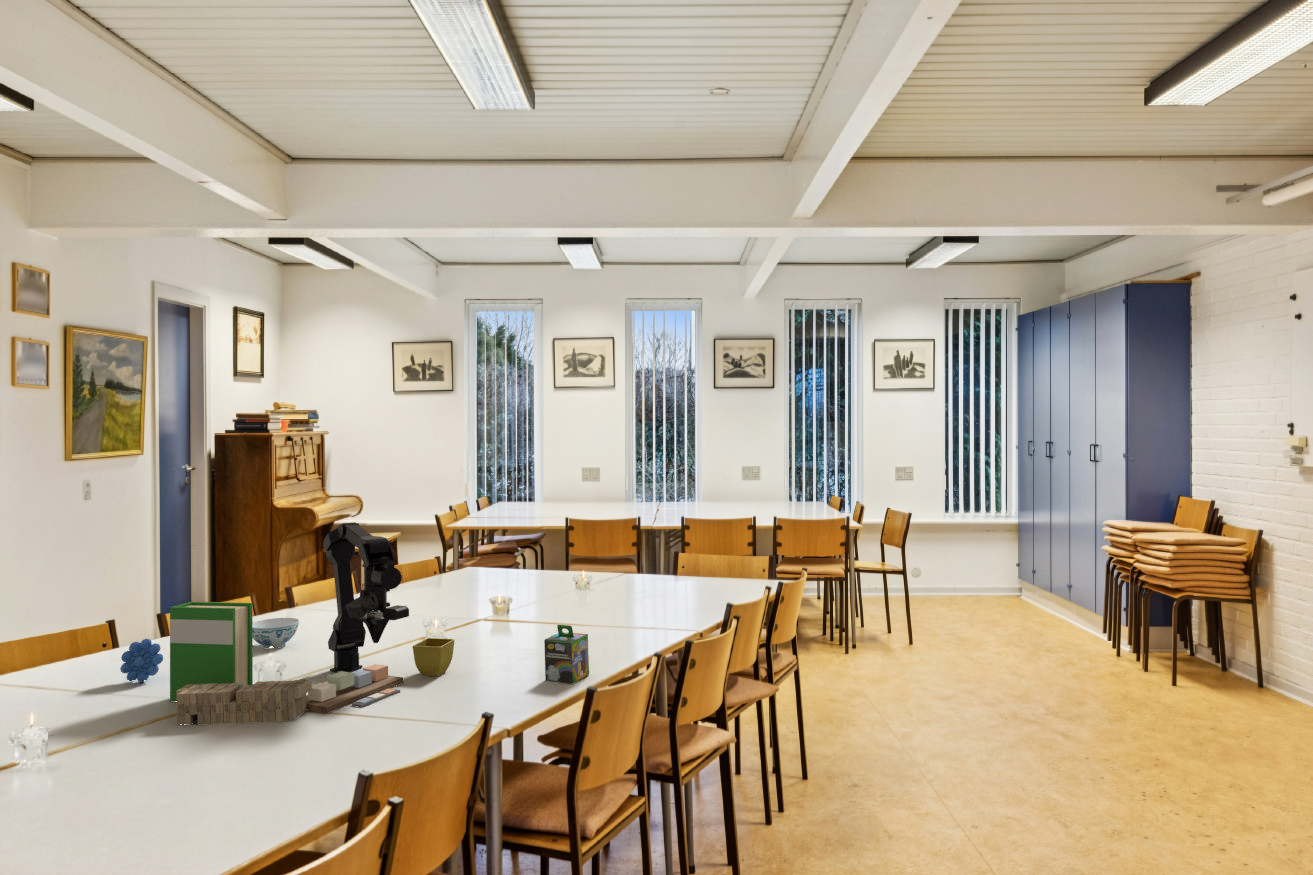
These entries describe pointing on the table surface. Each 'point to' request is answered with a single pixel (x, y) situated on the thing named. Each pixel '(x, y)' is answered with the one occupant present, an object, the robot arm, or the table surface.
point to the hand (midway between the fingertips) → (375, 642)
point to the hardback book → (210, 644)
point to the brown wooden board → (352, 695)
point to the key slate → (362, 678)
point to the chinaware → (274, 631)
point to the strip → (375, 697)
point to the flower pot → (433, 656)
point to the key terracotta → (377, 671)
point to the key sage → (341, 679)
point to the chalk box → (566, 656)
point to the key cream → (322, 692)
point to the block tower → (242, 702)
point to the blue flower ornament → (141, 660)
